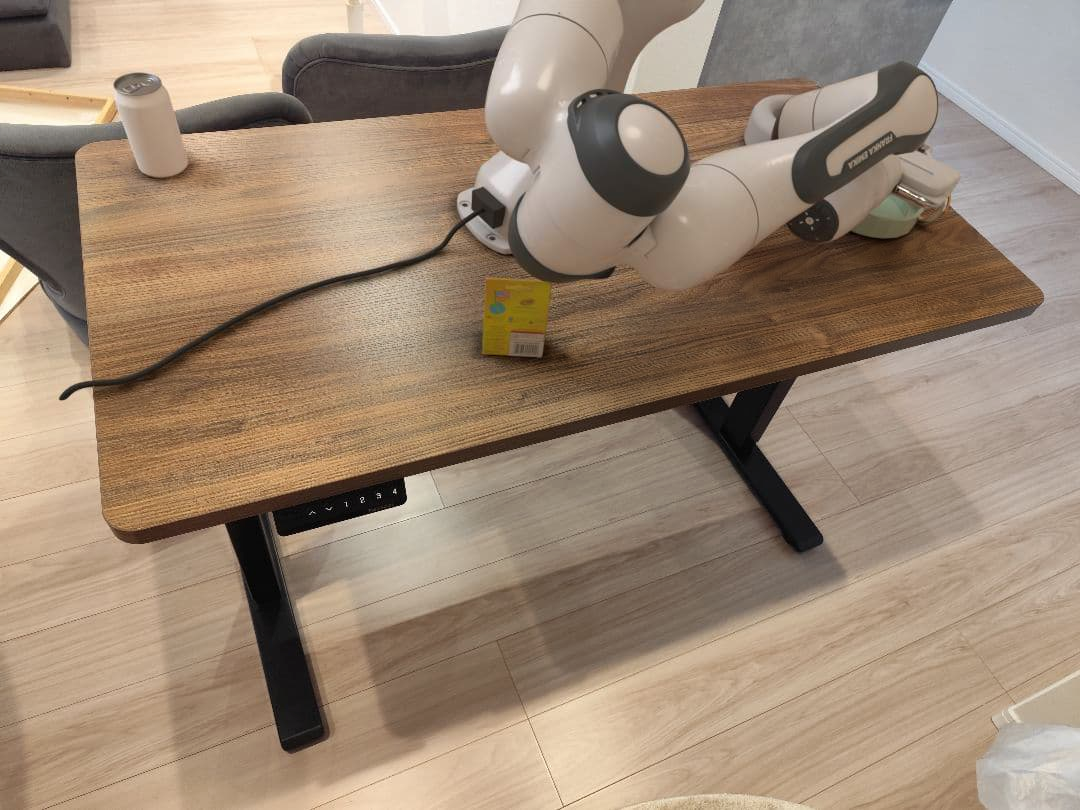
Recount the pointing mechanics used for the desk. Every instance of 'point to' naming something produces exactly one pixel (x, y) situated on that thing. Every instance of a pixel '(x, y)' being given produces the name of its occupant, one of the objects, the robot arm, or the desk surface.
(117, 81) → the can
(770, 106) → the donut shape
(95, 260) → the desk surface
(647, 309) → the desk surface
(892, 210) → the bowl
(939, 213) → the ring
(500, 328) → the crayon box
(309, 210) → the desk surface
